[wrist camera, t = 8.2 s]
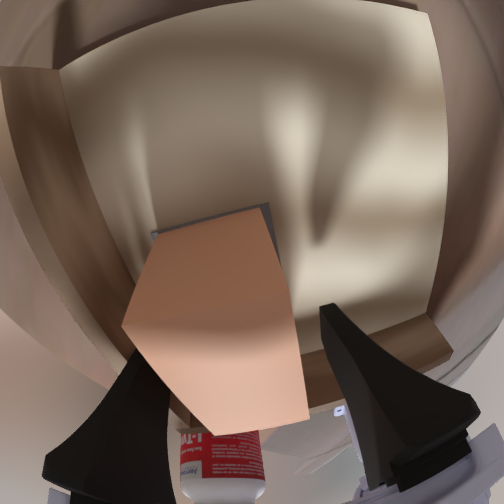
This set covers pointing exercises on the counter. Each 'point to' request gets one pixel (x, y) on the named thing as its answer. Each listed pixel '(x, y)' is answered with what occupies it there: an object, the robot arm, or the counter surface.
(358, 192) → the tray
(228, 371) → the block
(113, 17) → the counter surface
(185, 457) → the pill bottle
